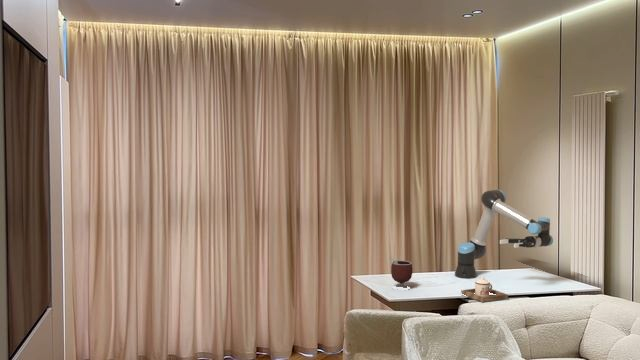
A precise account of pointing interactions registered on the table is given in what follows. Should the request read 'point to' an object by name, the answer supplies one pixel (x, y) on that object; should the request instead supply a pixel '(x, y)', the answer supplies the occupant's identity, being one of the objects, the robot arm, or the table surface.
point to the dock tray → (489, 298)
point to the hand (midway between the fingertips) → (507, 243)
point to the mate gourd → (401, 271)
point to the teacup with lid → (482, 287)
